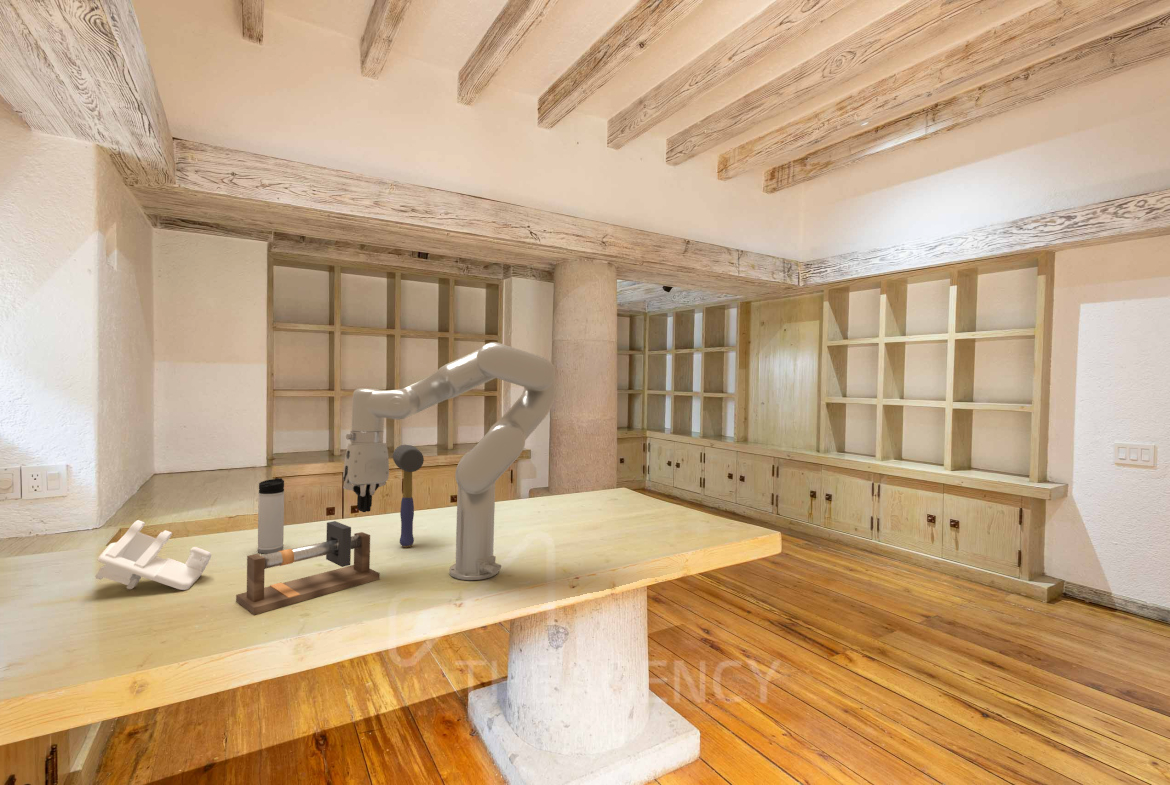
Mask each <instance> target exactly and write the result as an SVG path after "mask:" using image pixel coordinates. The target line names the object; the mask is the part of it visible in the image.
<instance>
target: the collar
mask: <svg viewBox="0 0 1170 785" xmlns="http://www.w3.org/2000/svg"><path fill="white" fill-rule="evenodd" d="M351 536H352V527H351V526H349V525H347V524H343V523H340V521H339V522H338V521H335V520H334V521H328V522H326V541H325V542H327V541H332V540H337V539H338V540H339V542H338V552H337V553H332V554H328V555H325V560H326V561H329V562H331V563H333V564H335V565H338V566H339V567H340V568H344V567H348V566H351V562H352V561H351V560H352V559H351V553H352V549H351Z"/></svg>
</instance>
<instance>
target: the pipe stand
mask: <svg viewBox="0 0 1170 785" xmlns="http://www.w3.org/2000/svg"><path fill="white" fill-rule="evenodd" d="M326 541H327V540H326ZM326 541H323V542H318V543H313V544H308V545H305V546H304V545H303V546H300V547H294V548H287V549H283V550H281V551H278V552H275V553H270V554H260V553H259V554H258V553H254V554H253V553H252V554H248V555H247V556H246V591H245V592H240V593H239V594H236V595H235V602H236V603H237V604H238V605H240V606H241V607H243V608H244V609H245V610H246V611H248V612H249V613H250V614H252V615H254V616H256V615H259V614H262V613H265V612H269V611H273V610H276V609H279V608H284V607H287V606H290V605H293V604H297V603H300V602H305V601H307V600H312V599H313V598H314V599H315V598H318V597H321V596H325V595H328V594H329V595H330V594H332V593H335V592H338V591H342V590H346V589H349V588H353V587H357V586H360V585H364V584H366V583H370V582H374V581H378V580H380V579H381V578H380V577H381V576H380V575H381V574H380V572H379V571H376V570H375V569H372V568H371V567H370V562H371V556H370V555H371V535H370V534H368V533H365V532H362V531H359V532H356V533H354V534H353V536H352V535H351V550H353V565H348V566H344V567H340V568H337V569H333V570H329V571H324V572H321V573H316V574H313V575H308V576H306V577H305V576H303V577H302V578H297V579H293V580H289V581H286V582H278V583H274V584H270V585H269V586H266V587H265V570H267V569H271V568H275V567H282V566H285V565H290V564H293V563H296V562H300V561H305V560H306V561H307V560H310V559H314V558H318V557H322V556H326V555H328V554H332V553H337V552H338V542H339V540H338V539H337V540H332V541H327V542H326Z"/></svg>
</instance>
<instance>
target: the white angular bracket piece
mask: <svg viewBox="0 0 1170 785" xmlns="http://www.w3.org/2000/svg"><path fill="white" fill-rule="evenodd" d="M145 524H146V522H144V521H143V520H139V519H137V520H135V521H134V522H133V523H132V524H131V525H130V527H129V528H128V529H127V530H126V532H125V533H124V535H123V536H121V538H120V539H119V540H118V541H116V542H111V543H109V544H108V545H107V546H106V548H105V549H104V550H103V551H102V552H101V553H100V555H99V556H98V557H97V561H98V562H99V563H101V564H103V566H101V567H100V568H99V569H98V571H97V572H96V574H95V579H97V580H102V579H108V580H109V581H110V580H111V581H114V582H115V583H118V584H123V585H125V586H126V589H128V590H132V589H134V588H135V587H136V586H137V585H138V583H139V582H140V581H141V579H142V578H145V579H147V580H151V581H153V582H156V583H160V584H162V585H165V586H169V587H171V588H174V589H177V590H181V591H187V590H190V588H191V587H192V586H193V585H194V584H195V583H196V582H197V580H198V579H199V578H201V577H202V575H203V573H204V571H205V569H206V568H207V566H208V564H209V563H210V560H211V558H212V552H210V551H208V550H206V549H203V548H200V547H197V546H193V547H191V548H190V550H189V555H188V558H187V559H186V562H185V563H184V562H181V561H178V560H175V559H172V558H171V557H170V558H169V557H167V558H163V557H160V556H158V555H159V553H160V552H161V550H162V548H163V547H164V545H165V544H167V542H168V541H169V540H170V538H171V537H172V535H173V531H172V532H171V531H169V530H167V529H165V530H163V531H161V532H160V533H159V534H158V535H157V536H156V537H154V536H151V535H148V534H146V533H143V532H142V529H143V528H144V527H145Z"/></svg>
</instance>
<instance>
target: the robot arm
mask: <svg viewBox="0 0 1170 785" xmlns="http://www.w3.org/2000/svg"><path fill="white" fill-rule="evenodd" d="M555 378H556V369H555V366H554V364H553V363H552V362H551V360H549V359H548V358H546V357H544V356H541V355H538V354H534V353H531V352H529V351H525V350H521V349H518V348H515V347H512V346H509V345H506V344H504V343H501V342H495V341H491V342H488V343H485V344H483V345H482V347H480V348H479V349H476V350H474V351H473V352H470V353H469V354H466V355H463V356H461V357H459V358H457V359H455V360H453V361H450V362H448V363H446V364H444V365H443V366H441V367H439V368H438V369H437V370H436V371H435V372H434V373H432V374H430V375H429V376H427V377H425V378H424V379H423V378H422V379H420V380H419V381H417V382H415V383H412V384H410V385H408V386H406V387H403V388H398V389H389V390H387V389H386V390H382V389H380V388H379V389H378V388H366V387H365V388H356V389H355V390H354V391H353V393H352V405H351V407H352V408H351V430H350V433H347V434H346V435H345V438H346V440H349V442H350V443H348V444H347V447H346V452H345V455H344V462H343V476H342V478H343V479H342V480H343V482H344V484H343V487H342V488H343V489H344V490H348V491H352V492H354V493H355V495H356V496H357V501H356V502H357V503H356V507H357V510H358V511H359V512H361V513H366V512H371V508H372V506H373V505H372V504H373V503H372V502H373V496H374V495H375V492H376V491H377V490H378V488H380V487H383V486H386V484H387V481H388V480H389V479H390V478H389V476H390V465H389V464H390V459H389V450H388V446H387V445H388V444H387V443H386V442H384V434H385V433H384V432H385V431H384V430H385V426H384V425H385V419H390V420H405V419H407V418H410V417H412V416H414V415H417V414H418V413H420V412H423V411H425V410H426V409H429V408H430V407H433V406H435V405H437V404H439V403H442V402H444V401H446V400H449V399H454V398H456V397H459V396H461V395H463V394H465V393H466V392H469V391H471V390H473V389H475V388H477V387H480V386H481V385H483V384H487V383H488V382H490V381H492V380H494V379H498V380H501V381H504V382H507V383H511V384H513V385H514V384H515V385H518V386H521V387H523V391H522V394H521V395H520V397H519V398H517V400H516V401H515V402H514V403H513V405H512V406H511V407H510V408H509V409H508V410H507V412H505V413H504V414H503V415H502V417H500V418H499V419H498V420H497V421H496V422H495V423H493V424H492V425H491V427H489V430H488V431H487V433H486V434H484V436H483V437H482V438H481V439H480V441H479V442H477V444H476V445H475V446H473V448H472V449H471V450H469V451H468V452H465V454H464V455H463V456H462V457H461V458H460V459H459V461H458V464H457V466H456V468H455V475H454V478H455V481H456V484H457V496H456V497H457V499H456V500H457V502H456V503H457V504H456V530H455V531H456V532H455V533H456V536H455V538H456V540H455V563H454V564H452V565H451V566H450V567H449V572H448V573H449V575H450V576H451V577H453V578H454V579H457V580H461V581H480V580H485V579H490V578H492V577H494V576H496V575H498V574H499V571H500V570H501V568H502V565H501V564H500V563H496V562H497V560H496V555H494V547H495V546H494V544H495V543H494V538H495V537H494V536H495V535H494V534H495V511H496V510H495V509H496V508H495V507H496V506H495V505H496V504H495V502H496V481H498V480H499V479H500V477H501V476H502V475H503V474H504V473H505V472H506V471H507V470H508V469H509V468H510V467H511V466H512V465H513V464H514V462H515V461H516V460H517V459H518V458H519V457H520V455H521V454H522V452H523V451H524V448H525V445H526V441H527V439H528V438H529V437H530V436H531V434H532V433H533V432H534V431H535V430H536V429H537V428H538V427H539V425H540V424H541V423H542V422H543V420H544V419H545V418H546V417H547V415H548V414H549V412H550V411H551V410H552V407H553V405H554V401H555V397H556V382H555Z"/></svg>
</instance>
